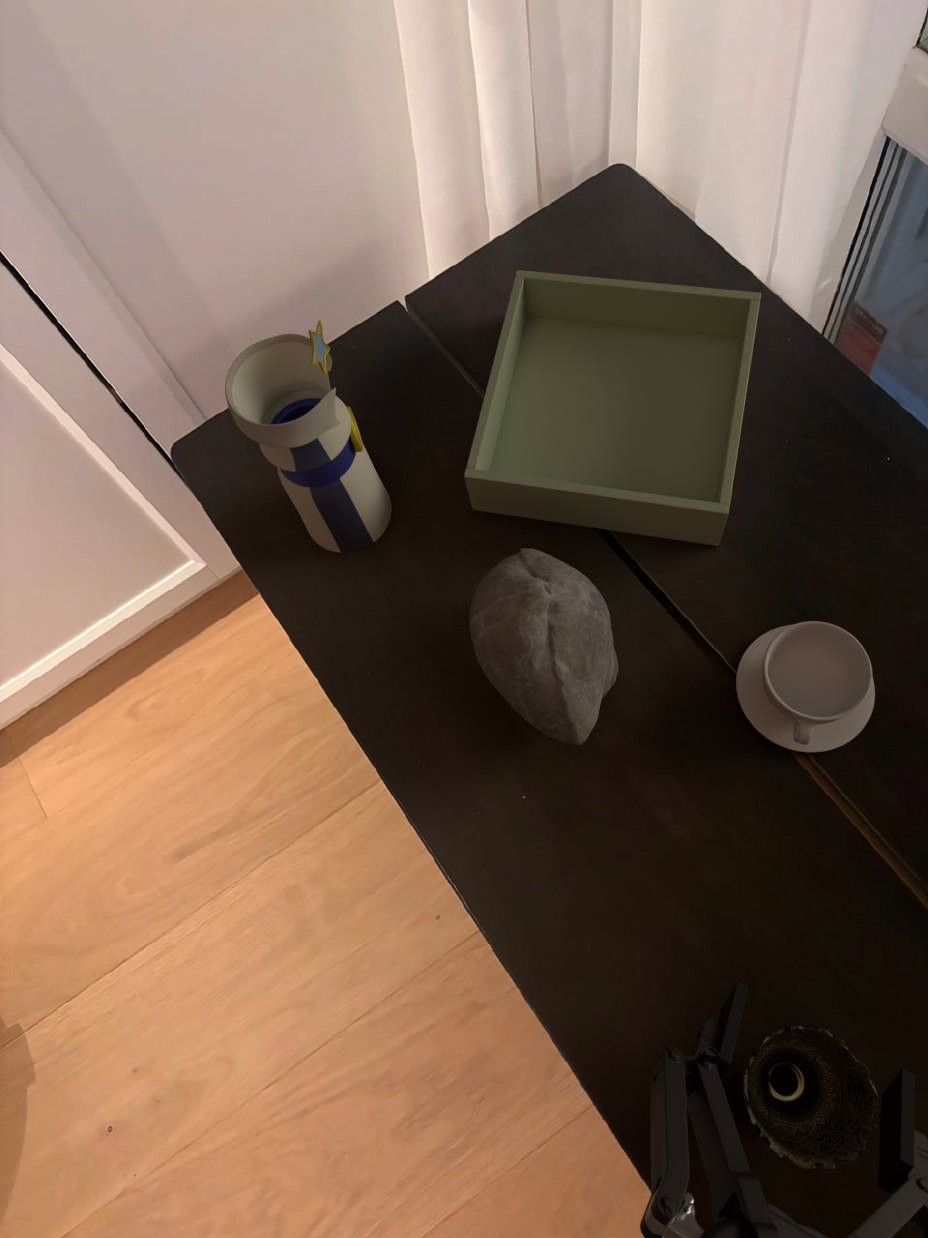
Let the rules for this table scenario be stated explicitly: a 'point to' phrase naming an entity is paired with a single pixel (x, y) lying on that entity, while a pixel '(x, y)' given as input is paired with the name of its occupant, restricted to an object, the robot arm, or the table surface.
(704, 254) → the table surface
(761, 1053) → the dark brown hollow vessel
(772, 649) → the teacup
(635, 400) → the bin
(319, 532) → the white blue vase
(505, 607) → the decorative stone
